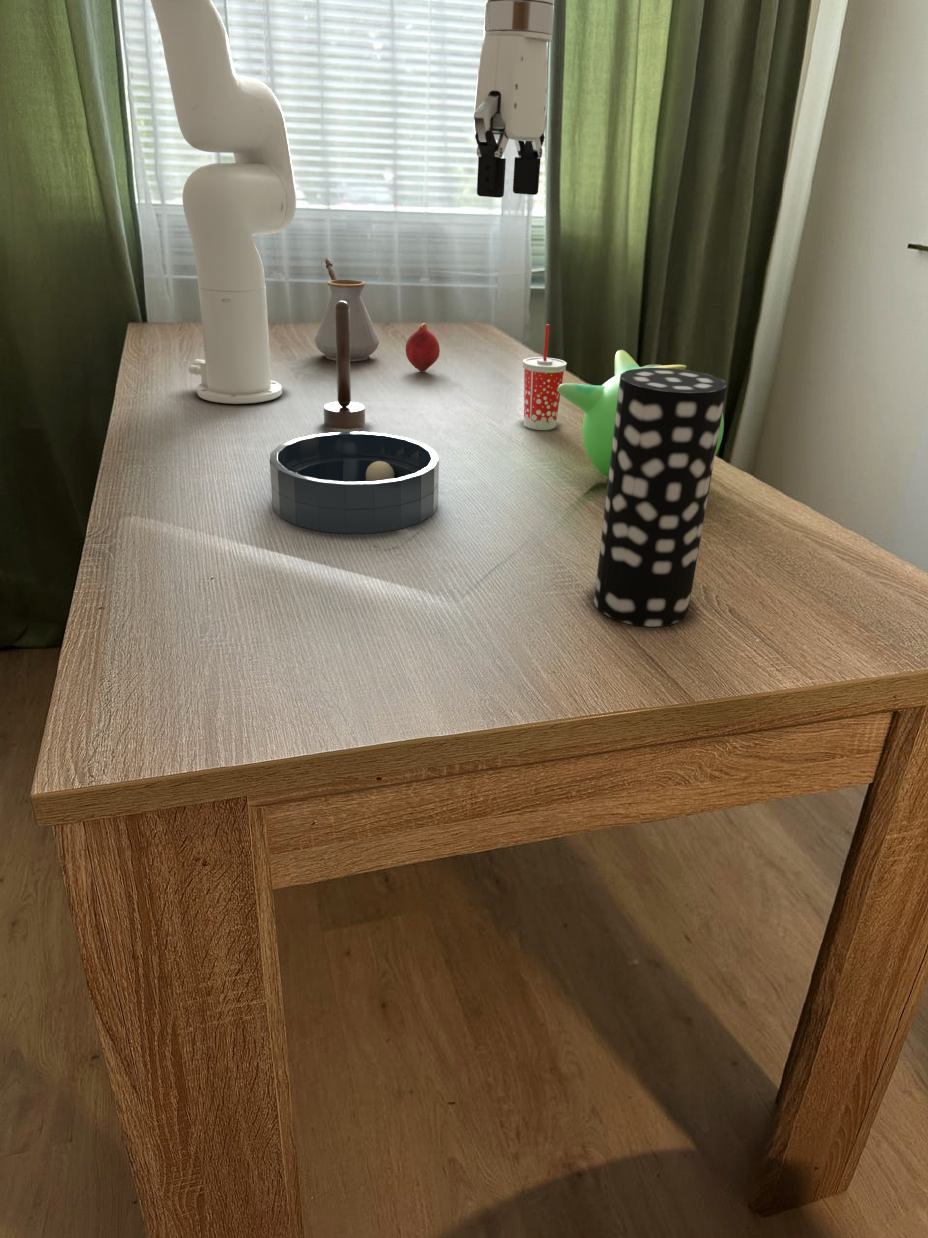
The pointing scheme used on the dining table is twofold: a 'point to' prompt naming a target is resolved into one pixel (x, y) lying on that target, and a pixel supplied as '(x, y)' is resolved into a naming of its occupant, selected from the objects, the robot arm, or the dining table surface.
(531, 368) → the beverage cup
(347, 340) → the brown rod with base
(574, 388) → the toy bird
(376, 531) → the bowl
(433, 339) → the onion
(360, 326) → the coffee pot
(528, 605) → the dining table surface
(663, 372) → the white-spotted black cylinder
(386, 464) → the cream ball
